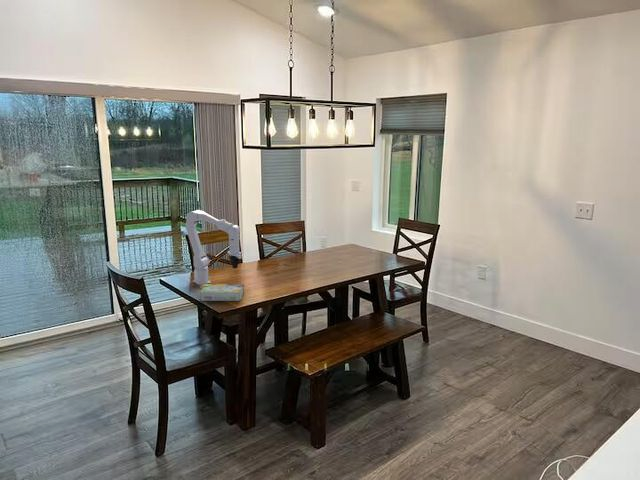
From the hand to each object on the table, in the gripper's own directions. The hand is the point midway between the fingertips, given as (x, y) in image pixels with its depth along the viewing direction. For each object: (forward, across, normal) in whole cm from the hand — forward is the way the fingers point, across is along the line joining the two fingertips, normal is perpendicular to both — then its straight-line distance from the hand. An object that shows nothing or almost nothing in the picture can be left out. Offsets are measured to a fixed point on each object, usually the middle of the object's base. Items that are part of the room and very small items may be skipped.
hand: (234, 268), depth 274 cm
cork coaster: (+10, +6, +15) cm, 19 cm away
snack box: (+7, -10, +12) cm, 17 cm away
